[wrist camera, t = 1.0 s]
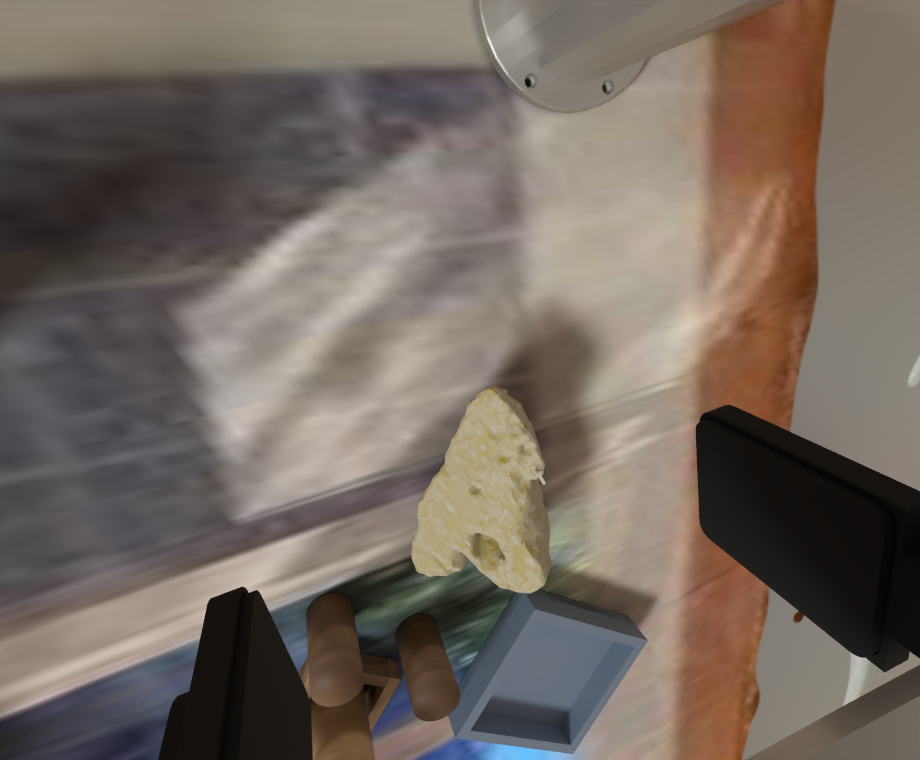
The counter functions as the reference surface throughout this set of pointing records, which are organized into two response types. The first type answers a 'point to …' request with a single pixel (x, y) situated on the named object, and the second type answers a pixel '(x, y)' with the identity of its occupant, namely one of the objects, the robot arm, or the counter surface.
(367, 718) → the dowel
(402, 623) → the peg
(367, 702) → the dowel socket
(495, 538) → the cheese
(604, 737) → the counter surface
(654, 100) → the counter surface
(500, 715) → the tray
